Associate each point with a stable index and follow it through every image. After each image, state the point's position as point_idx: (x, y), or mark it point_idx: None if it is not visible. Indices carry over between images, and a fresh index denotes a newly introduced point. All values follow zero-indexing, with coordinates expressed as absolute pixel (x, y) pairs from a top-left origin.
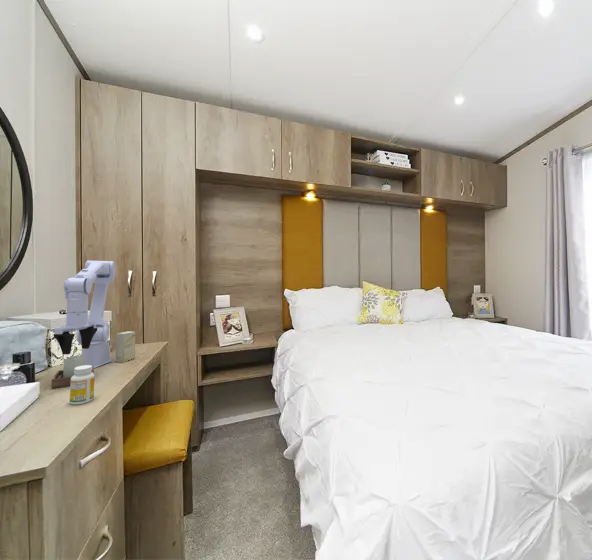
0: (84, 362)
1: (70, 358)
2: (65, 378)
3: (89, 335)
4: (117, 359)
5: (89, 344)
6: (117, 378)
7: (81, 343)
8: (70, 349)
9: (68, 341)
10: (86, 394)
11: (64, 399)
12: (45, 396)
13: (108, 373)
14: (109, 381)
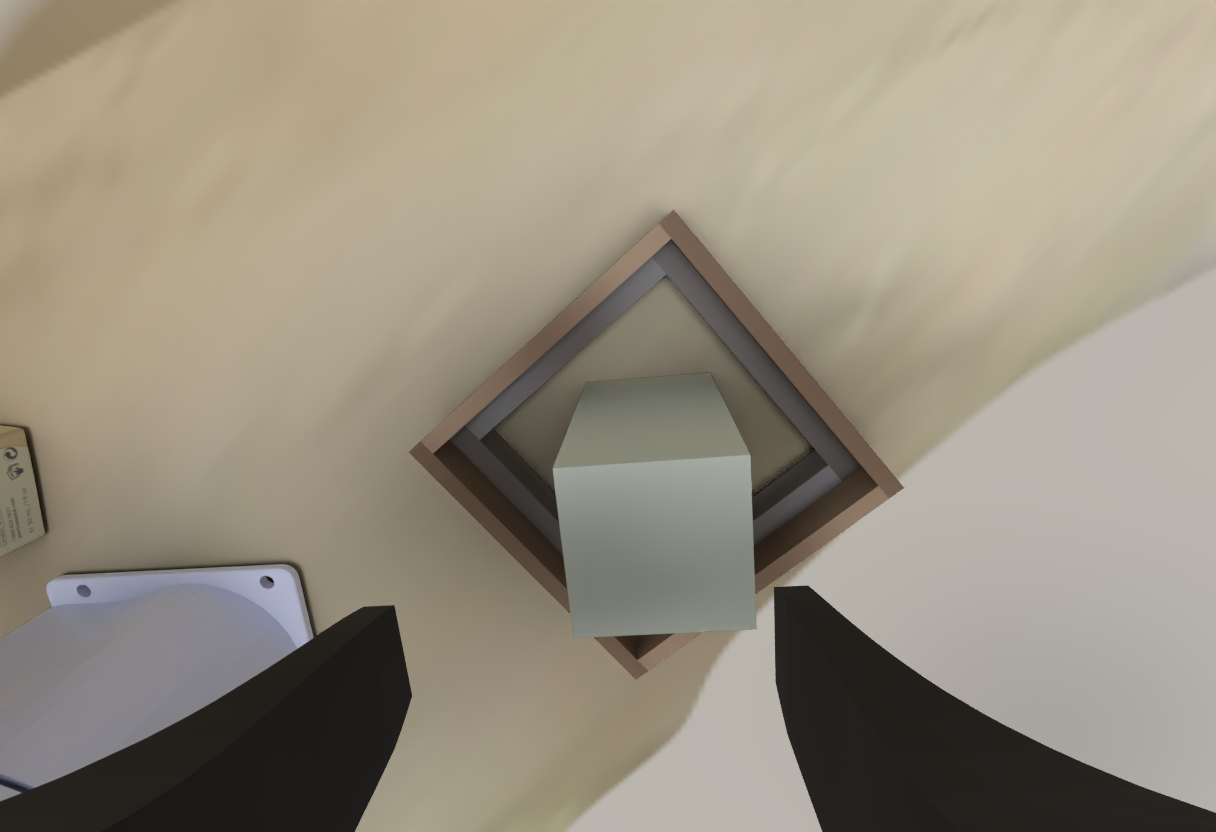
0: (578, 437)
1: (699, 581)
2: (829, 401)
3: (215, 804)
4: (15, 519)
5: (333, 637)
6: (490, 29)
7: (373, 789)
8: (813, 618)
9: (1015, 736)
10: None
11: (1116, 81)
12: (1035, 345)
13: (376, 289)
14: (595, 43)
